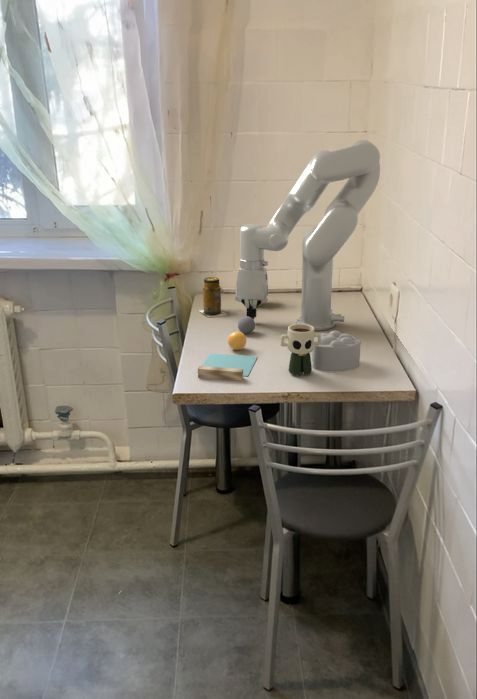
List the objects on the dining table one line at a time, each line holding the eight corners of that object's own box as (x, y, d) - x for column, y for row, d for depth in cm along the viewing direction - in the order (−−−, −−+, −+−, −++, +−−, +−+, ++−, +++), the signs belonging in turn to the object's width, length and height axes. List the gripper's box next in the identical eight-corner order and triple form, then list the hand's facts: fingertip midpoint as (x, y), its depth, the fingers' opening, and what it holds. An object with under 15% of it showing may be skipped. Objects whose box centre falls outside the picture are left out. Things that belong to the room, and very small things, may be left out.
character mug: (281, 379, 176) (282, 333, 171) (278, 368, 182) (278, 324, 178) (322, 377, 177) (324, 331, 172) (317, 367, 183) (319, 322, 178)
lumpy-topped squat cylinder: (311, 357, 190) (312, 328, 187) (357, 357, 189) (358, 329, 186) (313, 371, 181) (314, 341, 177) (361, 372, 180) (363, 342, 177)
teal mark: (257, 357, 190) (257, 356, 190) (247, 376, 178) (247, 375, 178) (210, 353, 193) (210, 353, 193) (197, 372, 180) (197, 372, 180)
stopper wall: (243, 377, 177) (243, 369, 176) (241, 380, 175) (241, 372, 174) (200, 374, 179) (199, 365, 178) (198, 377, 178) (197, 368, 177)
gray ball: (256, 330, 211) (256, 314, 209) (253, 336, 206) (253, 320, 204) (239, 329, 212) (239, 313, 210) (236, 335, 207) (236, 319, 205)
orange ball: (248, 346, 198) (248, 329, 196) (244, 353, 193) (244, 335, 191) (230, 345, 199) (229, 328, 197) (226, 352, 194) (225, 334, 192)
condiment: (217, 308, 234) (216, 275, 229) (227, 314, 226) (227, 281, 222) (198, 311, 231) (197, 277, 226) (208, 318, 223) (207, 283, 219)
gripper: (276, 262, 212) (275, 316, 219) (231, 260, 215) (231, 313, 222) (272, 268, 205) (272, 324, 212) (226, 265, 208) (226, 321, 215)
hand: (251, 318), depth 217 cm, fingers closed
